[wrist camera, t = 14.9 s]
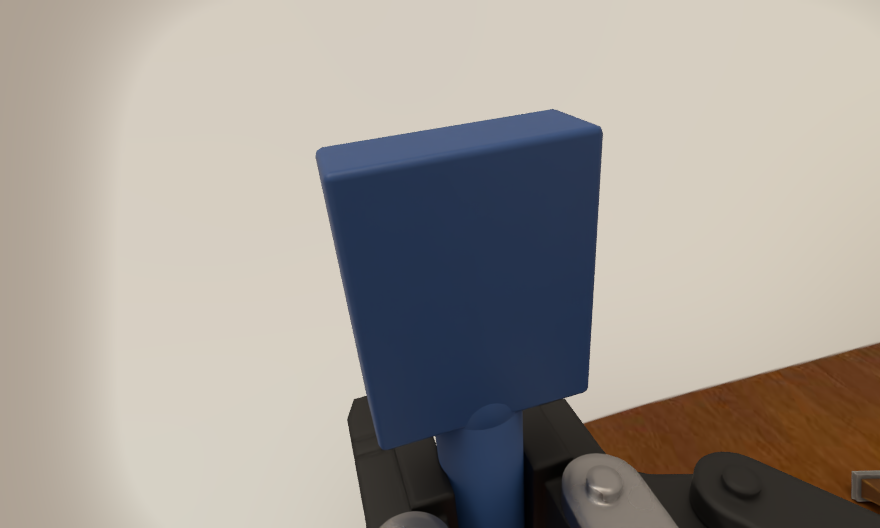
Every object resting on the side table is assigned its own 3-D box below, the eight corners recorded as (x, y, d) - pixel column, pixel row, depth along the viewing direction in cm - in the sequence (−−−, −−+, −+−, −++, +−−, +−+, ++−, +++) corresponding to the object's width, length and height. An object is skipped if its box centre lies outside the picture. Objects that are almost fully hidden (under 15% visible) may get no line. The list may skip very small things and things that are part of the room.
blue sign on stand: (422, 902, 10) (185, 297, 3) (375, 618, 14) (237, 126, 8) (662, 786, 11) (849, 155, 4) (547, 555, 15) (553, 77, 9)
